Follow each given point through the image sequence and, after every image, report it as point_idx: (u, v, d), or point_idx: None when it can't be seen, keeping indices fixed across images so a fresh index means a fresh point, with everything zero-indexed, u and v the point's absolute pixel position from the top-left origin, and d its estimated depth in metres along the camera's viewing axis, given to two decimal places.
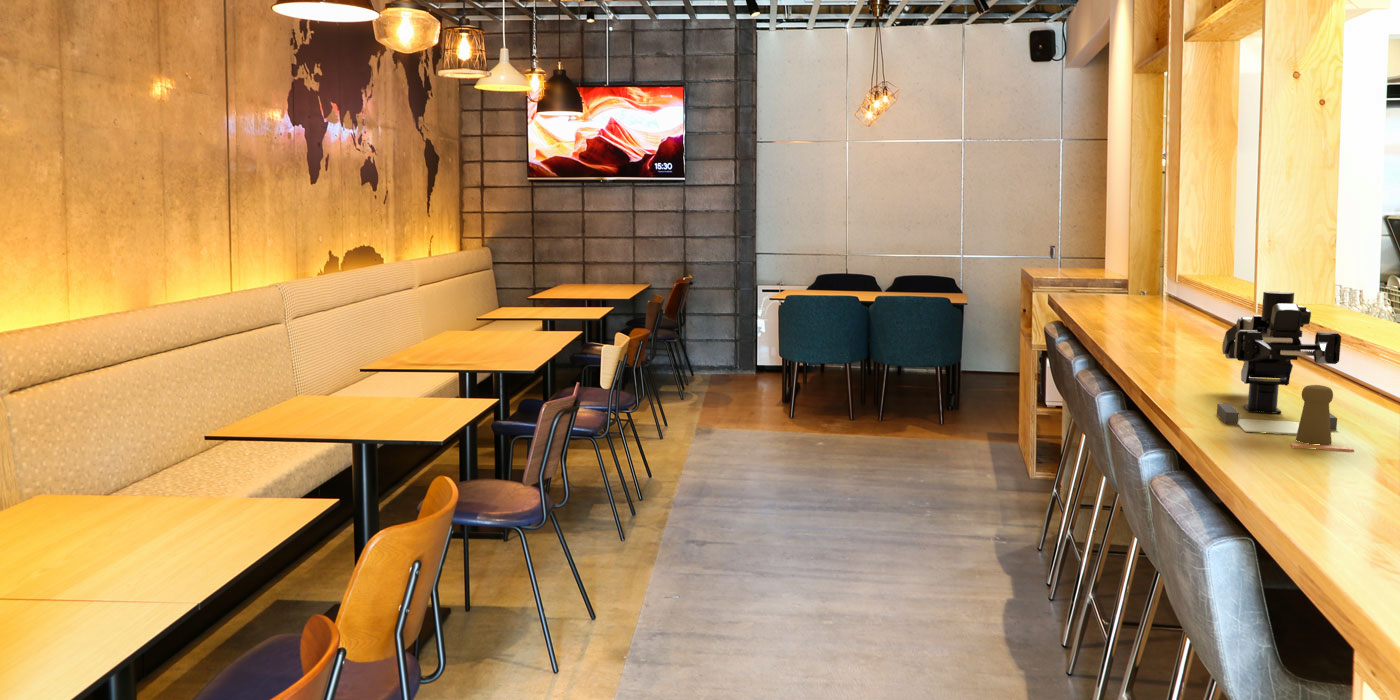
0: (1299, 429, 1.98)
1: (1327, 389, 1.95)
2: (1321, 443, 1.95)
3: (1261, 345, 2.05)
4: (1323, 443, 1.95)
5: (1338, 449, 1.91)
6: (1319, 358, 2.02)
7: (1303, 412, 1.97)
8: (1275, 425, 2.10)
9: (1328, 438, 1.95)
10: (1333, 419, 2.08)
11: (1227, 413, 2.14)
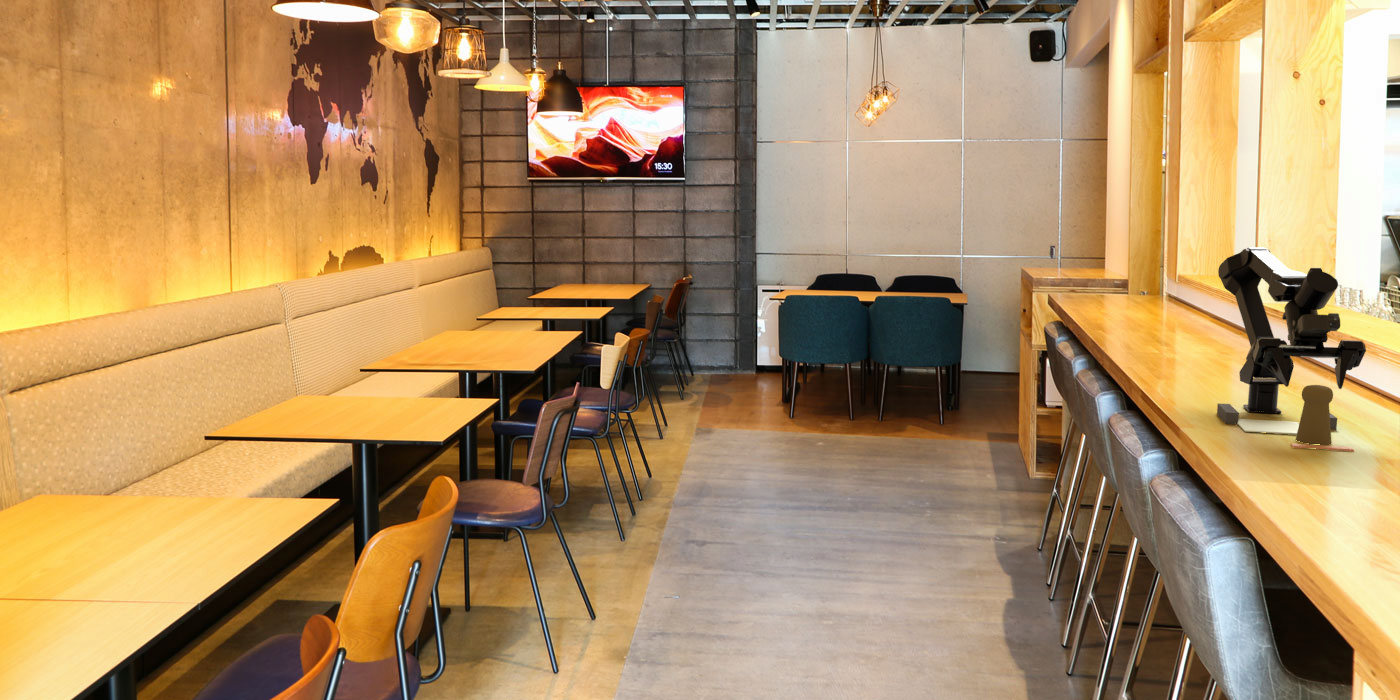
0: (1299, 429, 1.98)
1: (1327, 389, 1.95)
2: (1321, 443, 1.95)
3: (1280, 370, 2.02)
4: (1323, 443, 1.95)
5: (1338, 449, 1.91)
6: None
7: (1303, 412, 1.97)
8: (1275, 425, 2.10)
9: (1328, 438, 1.95)
10: (1333, 419, 2.08)
11: (1227, 413, 2.14)
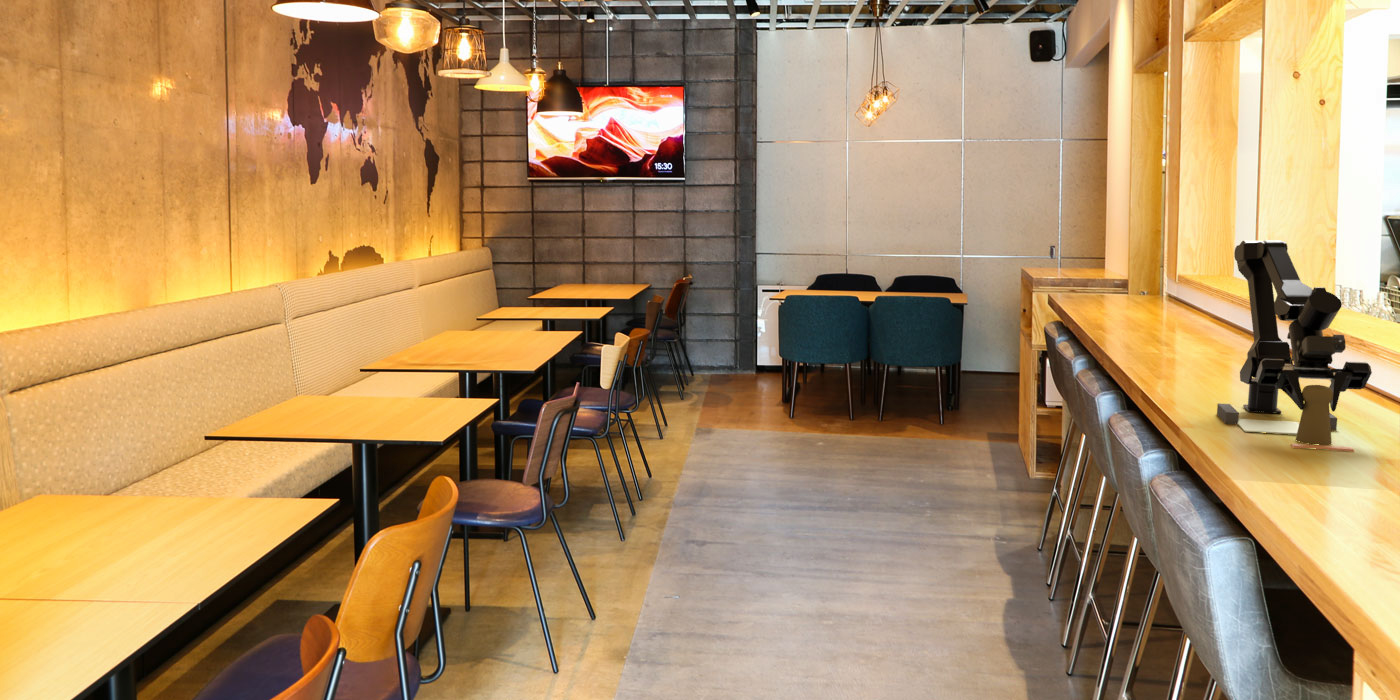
0: (1299, 429, 1.98)
1: (1327, 389, 1.95)
2: (1321, 443, 1.95)
3: (1295, 392, 1.98)
4: (1323, 443, 1.95)
5: (1338, 449, 1.91)
6: (1330, 404, 1.97)
7: (1303, 412, 1.97)
8: (1275, 425, 2.10)
9: (1328, 438, 1.95)
10: (1333, 419, 2.08)
11: (1227, 413, 2.14)
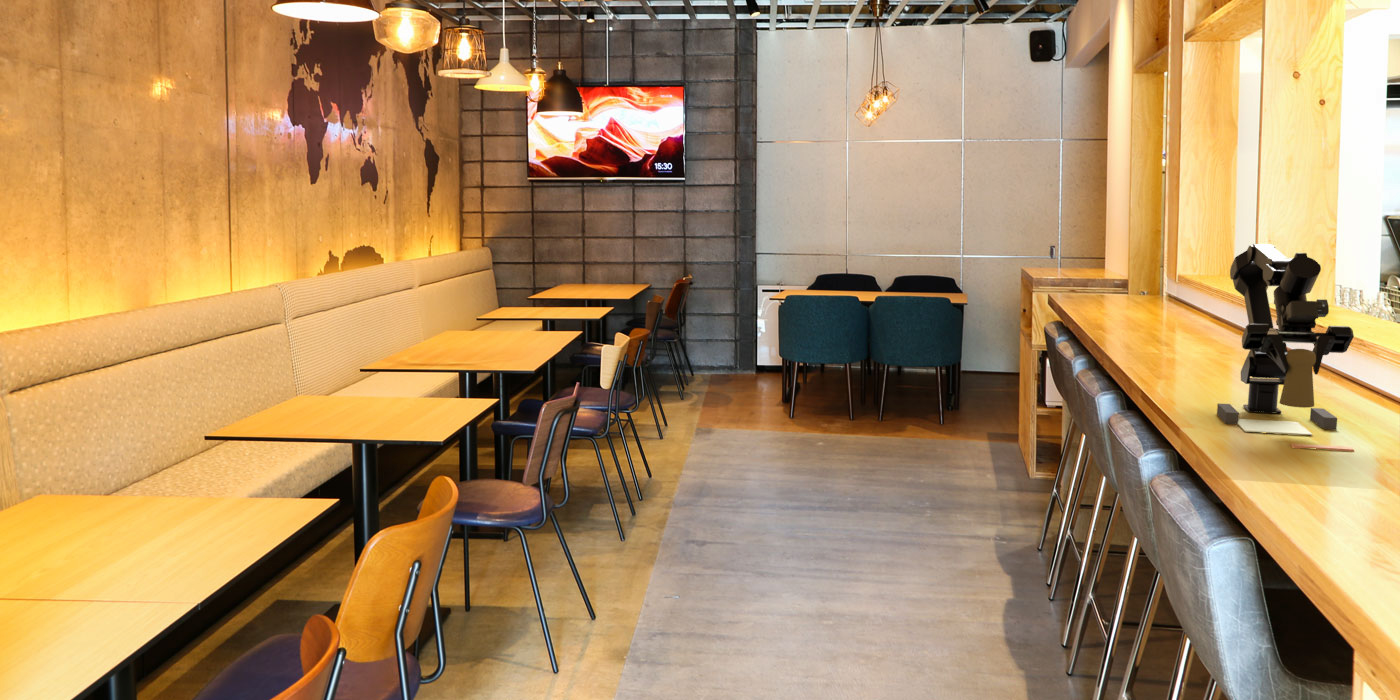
0: (1283, 392, 2.03)
1: (1310, 353, 1.99)
2: (1304, 405, 2.00)
3: (1279, 356, 2.02)
4: (1306, 405, 2.00)
5: (1338, 449, 1.91)
6: (1313, 367, 2.02)
7: (1287, 375, 2.02)
8: (1275, 425, 2.10)
9: (1311, 401, 2.00)
10: (1333, 419, 2.08)
11: (1227, 413, 2.14)
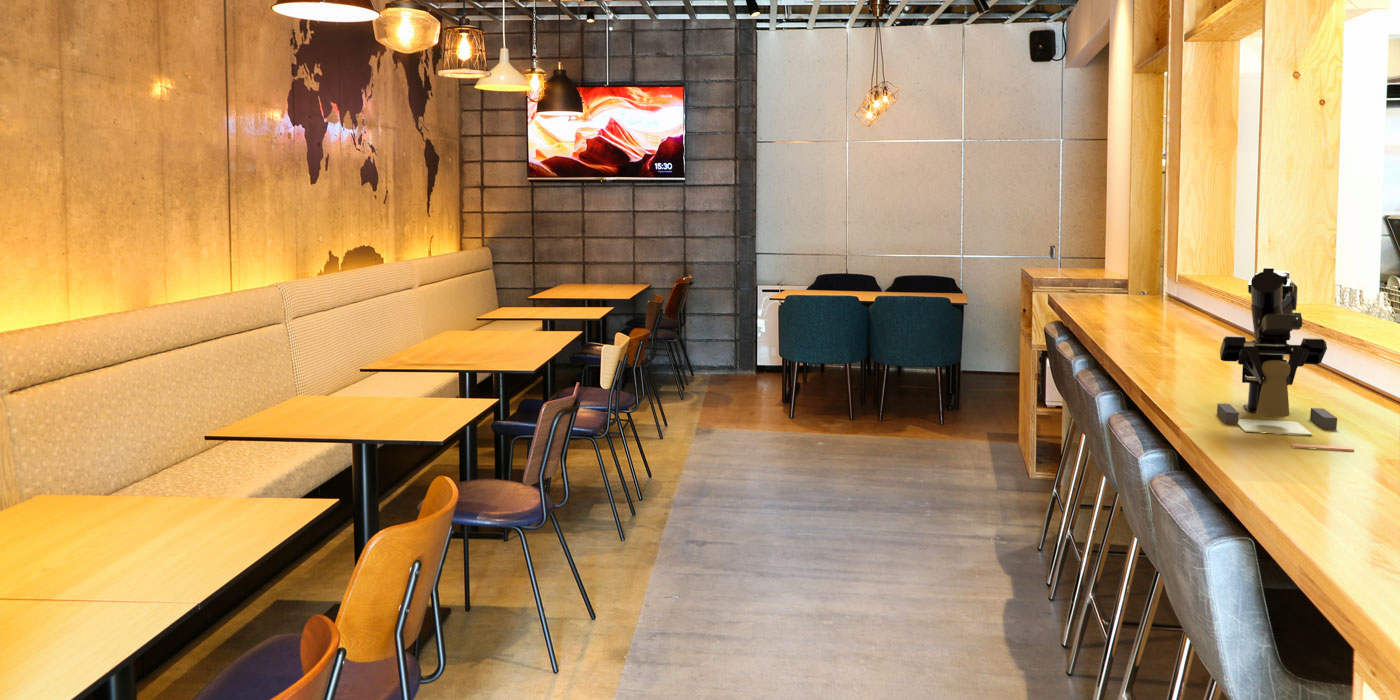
0: (1259, 402, 2.10)
1: (1285, 364, 2.06)
2: (1279, 415, 2.07)
3: (1255, 367, 2.09)
4: (1281, 415, 2.07)
5: (1338, 449, 1.91)
6: (1288, 378, 2.09)
7: (1263, 386, 2.09)
8: (1275, 425, 2.10)
9: (1286, 410, 2.07)
10: (1333, 419, 2.08)
11: (1227, 413, 2.14)
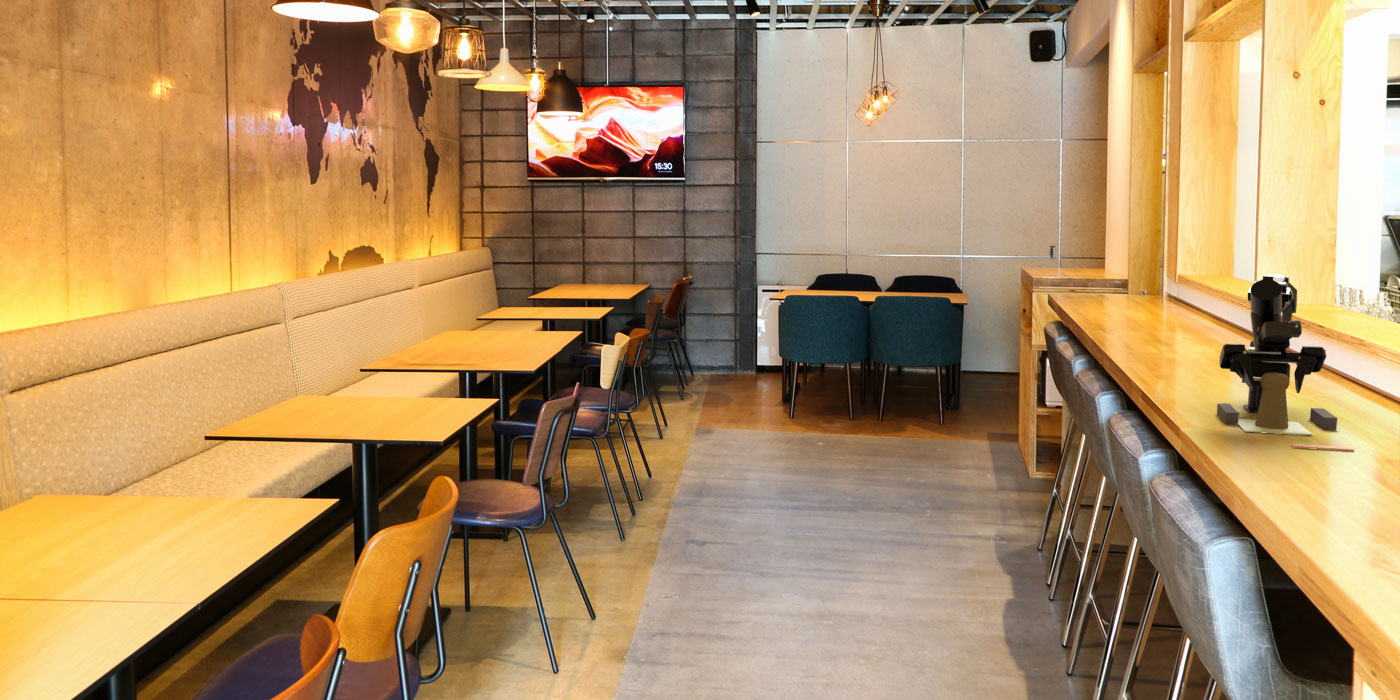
0: (1258, 414, 2.10)
1: (1284, 376, 2.06)
2: (1278, 427, 2.07)
3: (1246, 375, 2.10)
4: (1280, 427, 2.07)
5: (1338, 449, 1.91)
6: (1295, 386, 2.08)
7: (1262, 398, 2.09)
8: None
9: (1285, 422, 2.07)
10: (1333, 419, 2.08)
11: (1227, 413, 2.14)
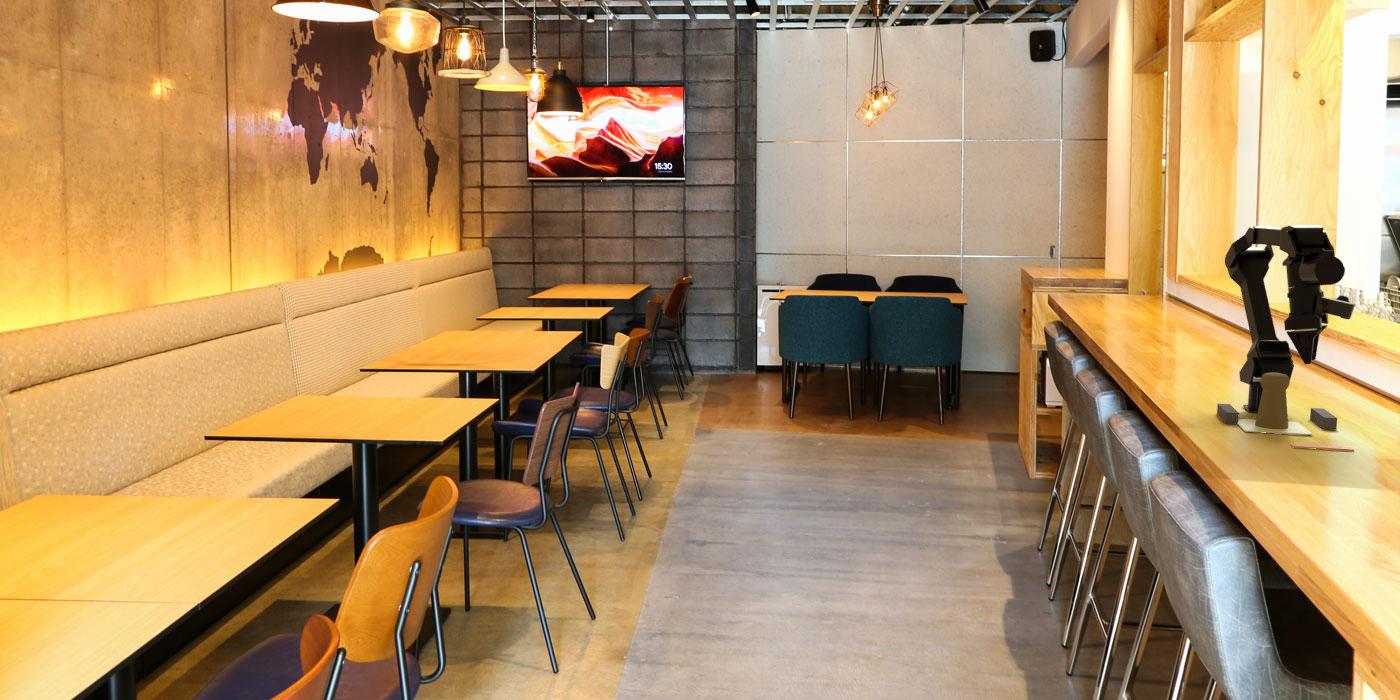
0: (1258, 414, 2.10)
1: (1284, 376, 2.06)
2: (1278, 427, 2.07)
3: (1310, 349, 2.05)
4: (1280, 427, 2.07)
5: (1338, 449, 1.91)
6: None
7: (1262, 398, 2.09)
8: None
9: (1285, 422, 2.07)
10: (1333, 419, 2.08)
11: (1227, 413, 2.14)
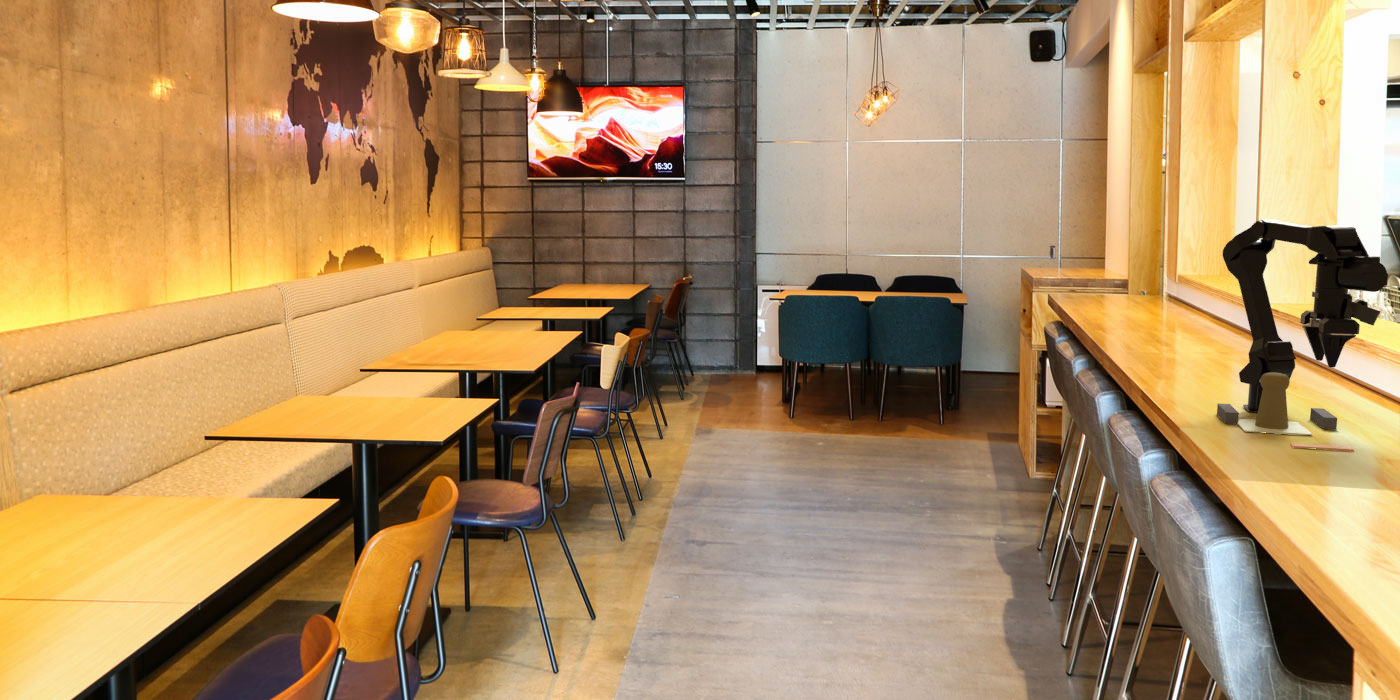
0: (1258, 414, 2.10)
1: (1284, 376, 2.06)
2: (1278, 427, 2.07)
3: (1339, 353, 2.04)
4: (1280, 427, 2.07)
5: (1338, 449, 1.91)
6: (1313, 350, 2.14)
7: (1262, 398, 2.09)
8: None
9: (1285, 422, 2.07)
10: (1333, 419, 2.08)
11: (1227, 413, 2.14)
